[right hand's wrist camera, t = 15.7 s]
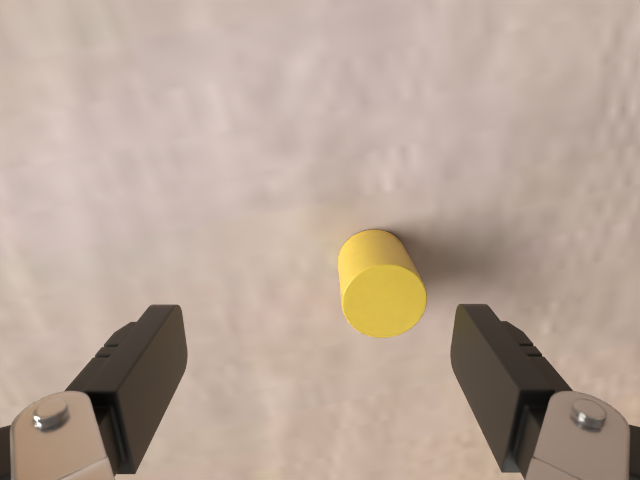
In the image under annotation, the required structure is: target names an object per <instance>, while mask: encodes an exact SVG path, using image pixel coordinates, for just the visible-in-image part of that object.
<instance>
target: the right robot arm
mask: <svg viewBox="0 0 640 480" xmlns="http://www.w3.org/2000/svg"><path fill="white" fill-rule="evenodd" d="M186 364H187V345H186V338H185V330H184V323H183V316H182V310H181V308H180V306H179V305H151V306H149V307H148V309H147V310H146V311H145V312H144V314H143V315H142V316H141V317H140V319H139V320H138V321H137V322H130V323H129V324H127V325H126V326H124V327H122V328H121V329H119V330H118V331H116V332H115V333H114V334H113V335H112V336H111V337H110V338H109V340H108V341H107V342H106V343H105V344H104V347H102V348H101V349H100V350H99V351H98V352H97V354H96V355H95V358H92V359H91V361H90V362H89V363H88V364H87V365H86V366H85V368H84V369H83V370H82V371H81V372H80V374H79V375H78V376H77V377H76V378H75V379H74V381H73V382H72V383H71V384H70V385H69V386H68V388H67V389H66V390H65V391H64V392H59V393H55V394H52V395H49V396H47V397H44V398H42V399H40V400H38V401H36V402H34V403H33V404H31V405H29V406H28V407H27V408H25V409H24V410H23V411H22V412H21V413H20V414H19V415H18V416H17V417H16V418H15V419H14V421H13V423H12V425H10V426H6V427H2V428H0V480H115V479H114V477H115V475H116V474H135V473H136V471H137V469H138V467H139V465H140V463H141V461H142V459H143V457H144V455H145V453H146V451H147V448H148V446H149V444H150V442H151V440H152V438H153V436H154V434H155V432H156V430H157V428H158V426H159V424H160V422H161V420H162V418H163V415H164V413H165V411H166V409H167V407H168V405H169V403H170V401H171V399H172V397H173V395H174V393H175V391H176V389H177V387H178V385H179V382H180V380H181V378H182V376H183V374H184V372H185V369H186ZM451 364H452V368H453V371H454V373H455V376H456V378H457V380H458V382H459V384H460V386H461V388H462V390H463V392H464V394H465V396H466V399H467V401H468V403H469V405H470V407H471V409H472V411H473V413H474V415H475V417H476V419H477V422H478V424H479V426H480V428H481V430H482V432H483V434H484V436H485V438H486V440H487V442H488V444H489V447H490V449H491V451H492V453H493V455H494V457H495V459H496V461H497V463H498V465H499V467H500V470H501V472H521V474H522V476H523V478H524V479H525V480H640V427H637V426H632V425H628V423H627V421H626V419H625V418H624V417H623V416H622V415H621V414H620V413H619V412H618V411H617V410H616V409H615V408H613V407H612V406H611V405H609V404H607V403H606V402H604V401H602V400H600V399H598V398H596V397H593V396H591V395H588V394H585V393H581V392H575V391H573V390H572V389H571V388H570V387H569V385H568V384H567V383H566V382H565V381H564V380H563V378H562V377H561V376H560V375H559V374H558V373H557V371H556V370H555V369H554V368H553V367H552V365H551V364H550V363H549V362H548V361H547V360H546V358H545V357H542V354H541V352H540V351H539V350H538V349H537V348H536V347H535V346H533V343H532V342H531V341H530V340H529V338H528V337H527V336H526V335H525V334H524V332H523V331H521V330H519V329H518V328H516V327H515V326H513V325H512V324H510V323H509V322H507V321H500V320H499V318H498V317H497V316H496V315H495V313H494V312H493V311H492V310H491V308H490V307H489V306H488V305H487V304H459V305H458V307H457V310H456V315H455V322H454V329H453V337H452V344H451Z"/></svg>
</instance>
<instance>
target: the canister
mask: <svg viewBox="0 0 640 480" xmlns="http://www.w3.org/2000/svg"><path fill="white" fill-rule="evenodd" d="M338 272H339V282H340V291H341V300H342V308H343V312H344V315H345V317H346V319H347V321H348V322H349V323H350V324H351V325H352V326H353V327H354V328H355V329H356V330H358V331H359V332H361V333H363V334H365V335H368V336H371V337H377V338H386V337H393V336H396V335H399V334H402V333H404V332H406V331H408V330H409V329H410V328H412V327H413V326H414V325H415V324H416V323H417V322H418V321H419V320H420V318H421V317H422V315H423V313H424V311H425V308H426V303H427V293H426V289H425V286H424V284H423V282H422V280H421V278H420V276H419V274H418V272H417V270H416V268H415V267H414V265H413V263H412V261H411V259H410V257H409V255H408V253H407V251H406V250H405V248H404V246H403V244H402V243H401V241H400V240H399V239H398V238H397V237H395V236H394V235H392V234H391V233H388V232H386V231H382V230H366V231H362V232H359V233H357V234H355V235H354V236H352V237H351V238H350V239H348V240H347V241H346V242H345V244H344V245H343V246H342V248H341V250H340V253H339V256H338Z"/></svg>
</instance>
